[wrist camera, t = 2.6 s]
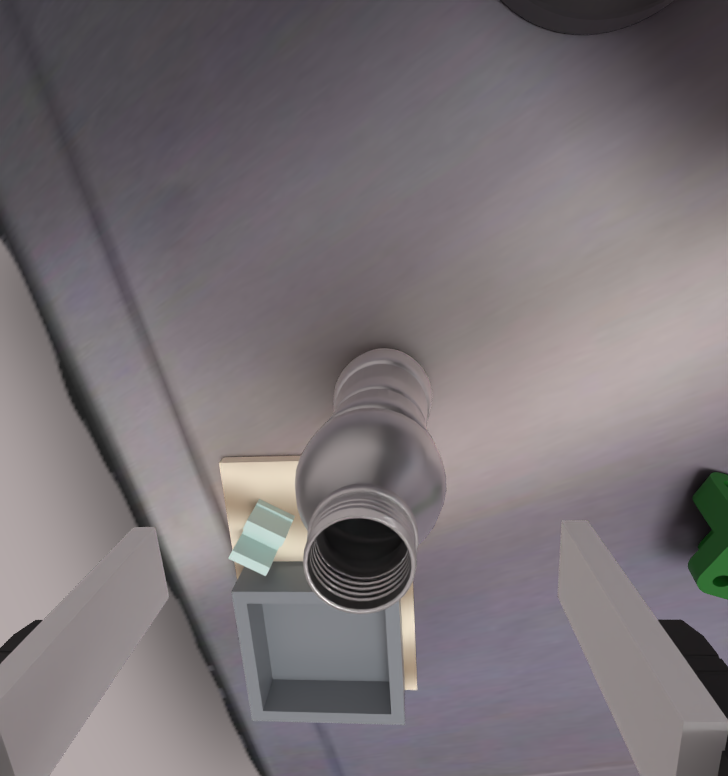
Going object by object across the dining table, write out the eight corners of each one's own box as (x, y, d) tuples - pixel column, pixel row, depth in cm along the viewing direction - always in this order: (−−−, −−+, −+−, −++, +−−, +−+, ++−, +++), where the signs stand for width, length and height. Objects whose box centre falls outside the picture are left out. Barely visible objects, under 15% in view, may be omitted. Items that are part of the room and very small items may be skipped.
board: (223, 457, 37) (218, 462, 36) (407, 452, 35) (407, 458, 34) (257, 676, 42) (253, 686, 41) (416, 679, 41) (417, 690, 40)
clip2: (259, 498, 36) (248, 517, 34) (294, 516, 36) (286, 536, 34) (239, 539, 37) (227, 560, 35) (274, 555, 37) (264, 578, 35)
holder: (246, 561, 38) (231, 591, 34) (398, 560, 37) (398, 592, 33) (264, 682, 41) (252, 720, 38) (404, 685, 40) (405, 724, 37)
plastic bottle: (446, 364, 33) (505, 519, 14) (405, 446, 35) (407, 680, 16) (361, 326, 33) (303, 431, 14) (324, 410, 35) (228, 606, 16)
